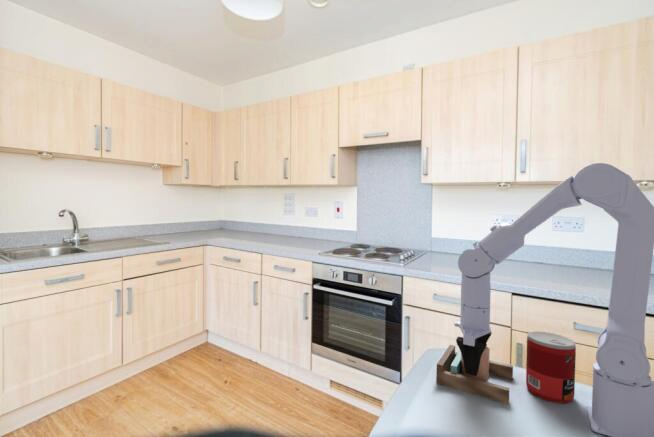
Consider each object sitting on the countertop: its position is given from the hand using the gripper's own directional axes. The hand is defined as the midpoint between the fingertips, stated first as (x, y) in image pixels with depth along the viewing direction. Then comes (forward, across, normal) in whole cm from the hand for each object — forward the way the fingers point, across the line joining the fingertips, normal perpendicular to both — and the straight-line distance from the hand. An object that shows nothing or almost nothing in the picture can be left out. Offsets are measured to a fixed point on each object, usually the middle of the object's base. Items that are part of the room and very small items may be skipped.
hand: (473, 368), depth 69 cm
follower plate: (+2, 0, -3) cm, 4 cm away
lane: (+2, 0, +1) cm, 3 cm away
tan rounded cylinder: (+1, 0, 0) cm, 1 cm away
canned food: (+3, -3, +14) cm, 14 cm away
